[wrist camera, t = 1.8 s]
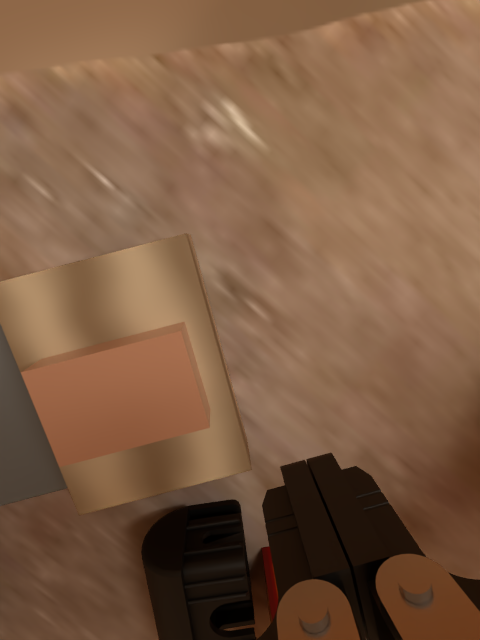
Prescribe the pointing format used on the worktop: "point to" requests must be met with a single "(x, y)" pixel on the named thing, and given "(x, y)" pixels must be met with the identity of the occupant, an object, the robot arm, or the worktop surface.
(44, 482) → the mat
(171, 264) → the tan wooden flat block
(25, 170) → the worktop surface
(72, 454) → the tile
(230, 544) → the end cap
